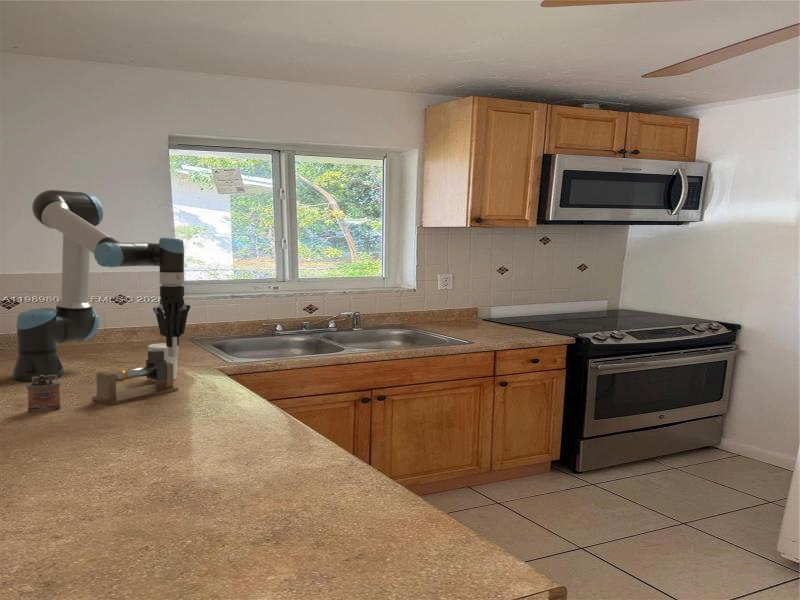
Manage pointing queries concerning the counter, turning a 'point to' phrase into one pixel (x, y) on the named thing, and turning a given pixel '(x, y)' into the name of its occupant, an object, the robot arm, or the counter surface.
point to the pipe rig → (111, 397)
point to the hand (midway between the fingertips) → (172, 356)
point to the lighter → (43, 394)
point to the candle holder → (166, 356)
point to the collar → (157, 364)
